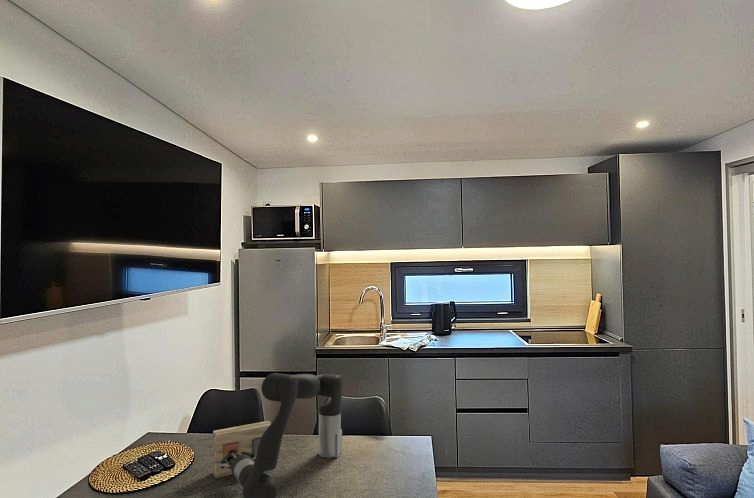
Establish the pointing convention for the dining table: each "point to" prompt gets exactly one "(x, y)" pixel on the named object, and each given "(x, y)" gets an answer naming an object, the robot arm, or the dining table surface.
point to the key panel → (235, 434)
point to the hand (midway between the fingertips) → (231, 452)
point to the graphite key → (255, 444)
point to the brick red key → (230, 448)
